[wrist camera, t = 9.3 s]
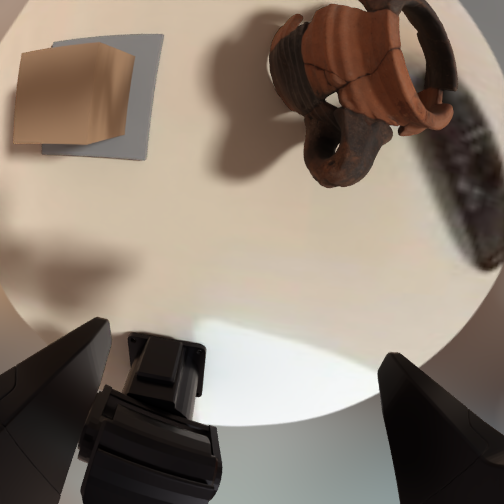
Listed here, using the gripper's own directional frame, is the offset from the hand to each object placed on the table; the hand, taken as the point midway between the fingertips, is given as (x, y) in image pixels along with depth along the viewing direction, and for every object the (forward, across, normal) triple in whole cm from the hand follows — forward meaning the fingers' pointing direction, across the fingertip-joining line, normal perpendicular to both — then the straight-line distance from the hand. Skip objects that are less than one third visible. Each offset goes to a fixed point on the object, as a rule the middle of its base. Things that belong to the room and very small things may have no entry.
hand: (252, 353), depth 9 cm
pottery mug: (+12, -4, -10) cm, 16 cm away
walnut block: (+12, +11, -7) cm, 17 cm away
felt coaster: (+12, +11, -7) cm, 18 cm away
